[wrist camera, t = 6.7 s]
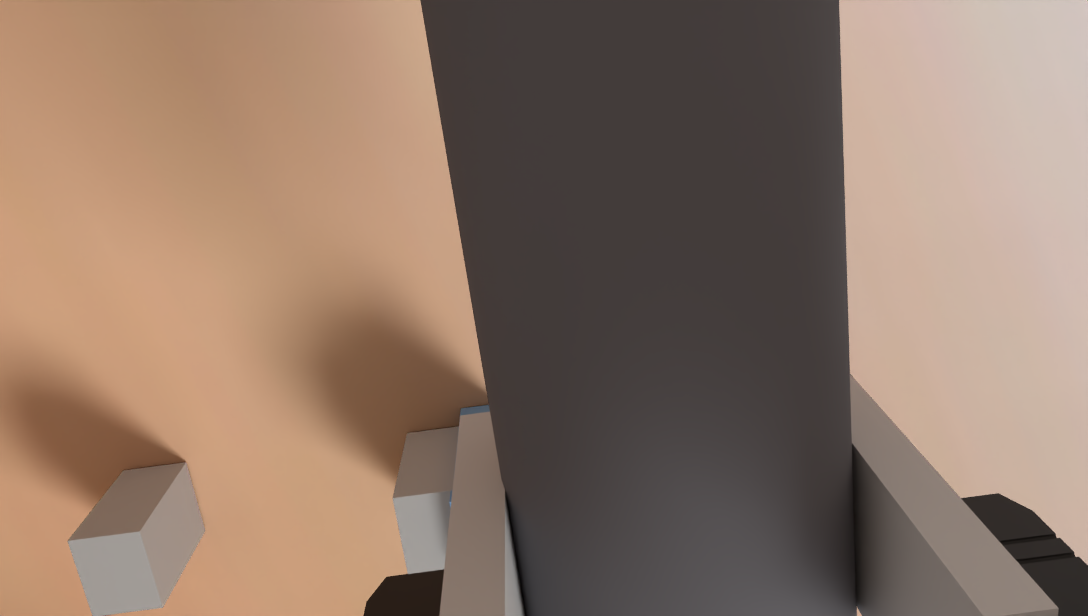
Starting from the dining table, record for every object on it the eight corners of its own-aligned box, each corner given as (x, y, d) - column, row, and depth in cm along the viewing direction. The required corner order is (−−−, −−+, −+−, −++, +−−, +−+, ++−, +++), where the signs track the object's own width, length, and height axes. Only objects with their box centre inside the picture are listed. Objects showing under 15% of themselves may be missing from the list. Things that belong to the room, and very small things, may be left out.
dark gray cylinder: (538, 882, 18) (668, 1152, 14) (369, -44, 13) (495, -87, 8) (754, 777, 20) (932, 989, 16) (689, -85, 14) (935, -138, 10)
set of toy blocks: (144, 538, 31) (84, 630, 26) (118, 453, 30) (51, 534, 25) (789, 453, 30) (836, 531, 26) (785, 365, 29) (834, 431, 25)
